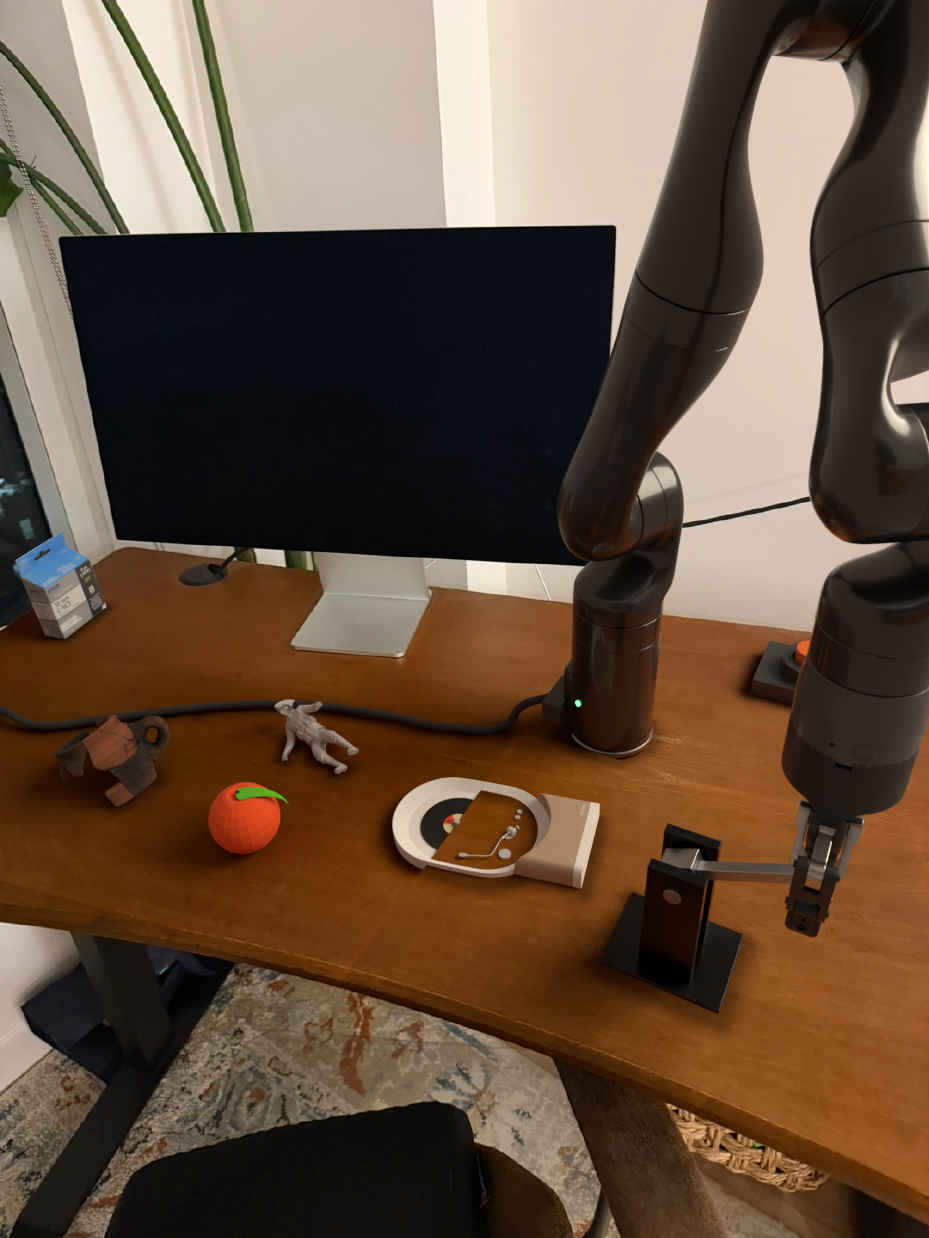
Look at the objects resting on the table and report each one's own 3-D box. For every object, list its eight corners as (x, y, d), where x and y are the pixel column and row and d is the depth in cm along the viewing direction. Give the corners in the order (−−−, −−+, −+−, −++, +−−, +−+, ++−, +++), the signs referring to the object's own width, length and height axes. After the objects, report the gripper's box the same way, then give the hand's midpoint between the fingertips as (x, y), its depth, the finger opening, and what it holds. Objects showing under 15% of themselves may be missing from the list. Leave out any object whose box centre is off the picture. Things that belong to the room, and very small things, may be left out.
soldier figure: (320, 796, 92) (244, 731, 96) (340, 794, 97) (266, 732, 100) (360, 737, 92) (282, 674, 96) (378, 738, 96) (303, 678, 100)
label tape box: (65, 640, 119) (36, 564, 112) (42, 636, 120) (12, 560, 113) (108, 608, 125) (83, 534, 119) (86, 604, 127) (60, 530, 120)
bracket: (742, 942, 73) (763, 840, 66) (717, 1020, 67) (738, 917, 60) (631, 899, 77) (640, 799, 70) (599, 969, 72) (605, 867, 65)
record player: (578, 882, 75) (372, 839, 81) (578, 905, 77) (376, 861, 83) (601, 791, 85) (415, 758, 90) (601, 813, 86) (417, 780, 92)
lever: (833, 862, 62) (824, 837, 61) (821, 914, 58) (811, 887, 58) (681, 858, 69) (671, 835, 69) (662, 903, 66) (651, 879, 65)
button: (791, 665, 100) (794, 653, 99) (797, 649, 102) (800, 637, 101) (824, 673, 98) (826, 661, 97) (829, 656, 101) (832, 644, 100)
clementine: (297, 810, 89) (286, 760, 85) (295, 861, 83) (283, 810, 79) (219, 821, 88) (205, 771, 84) (212, 873, 82) (196, 822, 79)
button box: (750, 694, 101) (754, 667, 99) (767, 654, 108) (771, 628, 105) (848, 719, 96) (855, 692, 94) (860, 676, 103) (866, 649, 101)
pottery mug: (92, 828, 89) (44, 766, 87) (94, 806, 98) (49, 749, 95) (193, 759, 92) (148, 698, 90) (185, 743, 101) (144, 687, 99)
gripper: (813, 644, 59) (776, 817, 68) (767, 774, 49) (731, 956, 58) (932, 672, 56) (877, 849, 65) (910, 817, 46) (848, 1002, 55)
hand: (808, 899), depth 62 cm, fingers closed on lever, 5 cm apart
